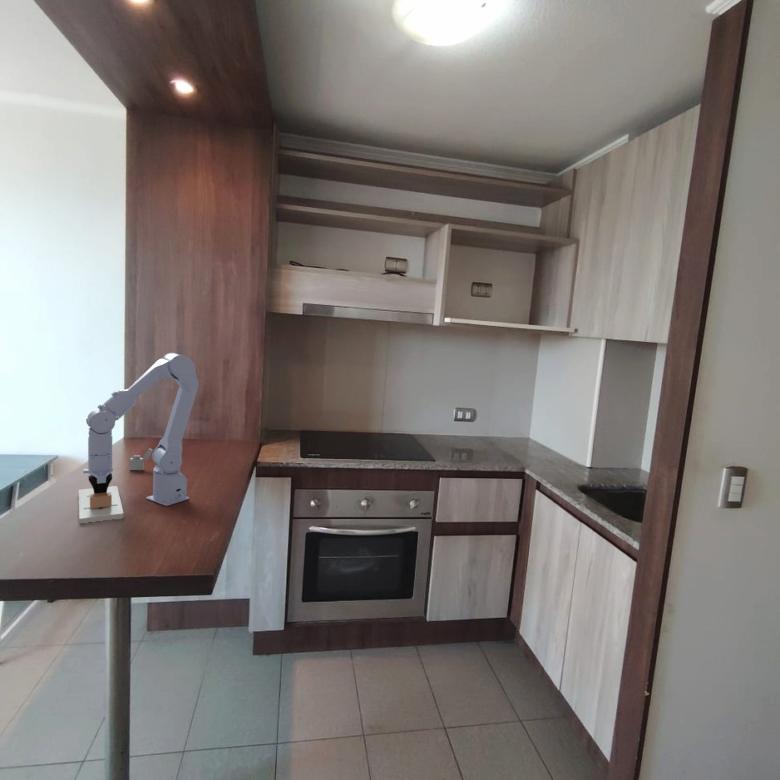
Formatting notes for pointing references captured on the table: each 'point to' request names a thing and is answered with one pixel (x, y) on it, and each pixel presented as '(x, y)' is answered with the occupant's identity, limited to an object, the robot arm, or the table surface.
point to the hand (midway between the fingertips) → (100, 500)
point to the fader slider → (100, 500)
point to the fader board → (101, 512)
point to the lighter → (139, 461)
